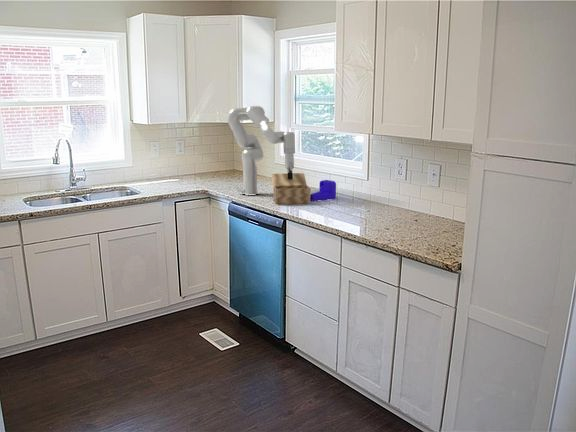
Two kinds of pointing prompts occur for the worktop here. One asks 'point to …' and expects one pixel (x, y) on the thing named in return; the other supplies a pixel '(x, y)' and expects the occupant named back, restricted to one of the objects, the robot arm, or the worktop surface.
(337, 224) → the worktop surface
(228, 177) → the worktop surface
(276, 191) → the open wooden box
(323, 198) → the bracket
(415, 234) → the worktop surface
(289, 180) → the lid flap
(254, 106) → the robot arm
